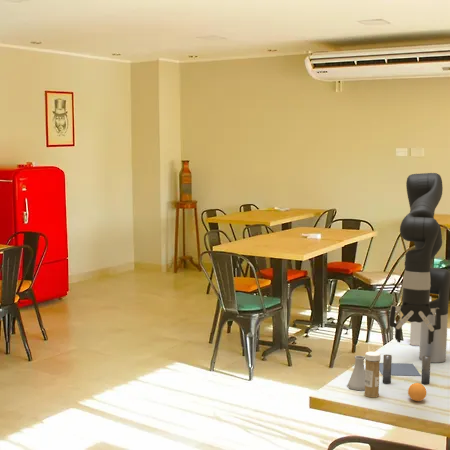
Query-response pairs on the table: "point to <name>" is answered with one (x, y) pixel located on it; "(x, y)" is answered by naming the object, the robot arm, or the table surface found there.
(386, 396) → the table surface
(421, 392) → the ball
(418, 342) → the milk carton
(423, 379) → the post
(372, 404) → the table surface
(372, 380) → the sprinkles bottle
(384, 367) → the post
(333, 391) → the table surface
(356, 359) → the flask
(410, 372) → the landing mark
